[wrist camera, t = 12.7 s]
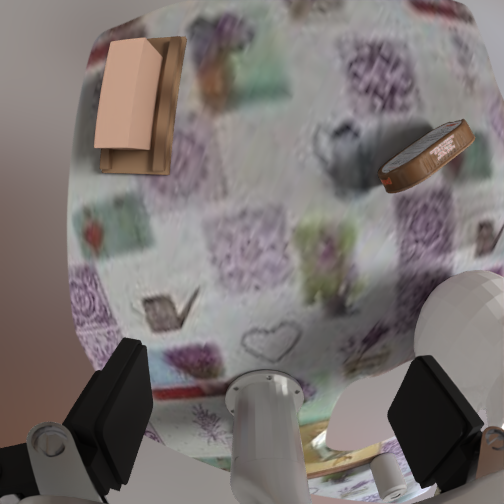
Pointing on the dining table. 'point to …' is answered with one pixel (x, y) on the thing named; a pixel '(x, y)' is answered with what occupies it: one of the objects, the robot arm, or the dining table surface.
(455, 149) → the tin
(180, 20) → the dining table surface
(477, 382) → the white vase
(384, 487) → the beverage can
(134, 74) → the block
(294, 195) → the dining table surface
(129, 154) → the rack
